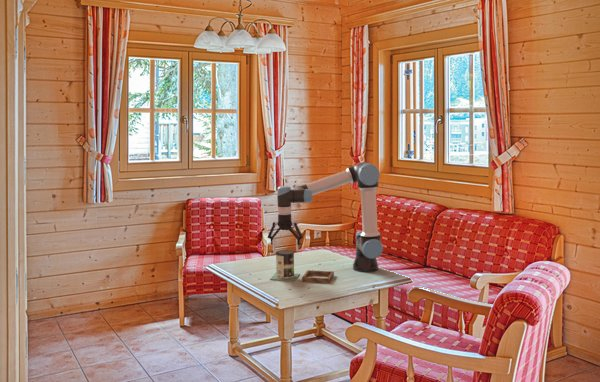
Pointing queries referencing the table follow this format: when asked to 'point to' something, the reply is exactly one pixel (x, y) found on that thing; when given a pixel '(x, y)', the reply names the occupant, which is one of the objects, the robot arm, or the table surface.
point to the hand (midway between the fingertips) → (285, 250)
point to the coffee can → (285, 264)
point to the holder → (318, 273)
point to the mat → (284, 279)
